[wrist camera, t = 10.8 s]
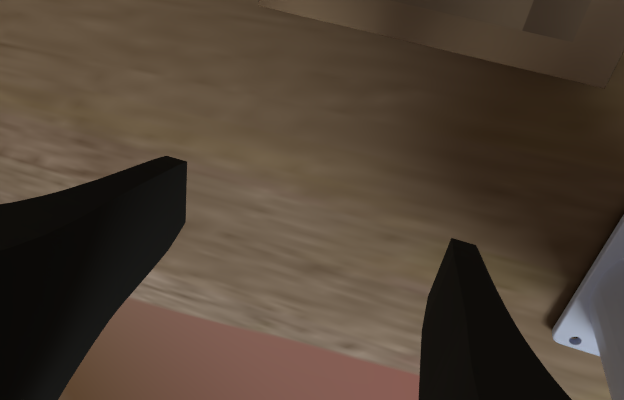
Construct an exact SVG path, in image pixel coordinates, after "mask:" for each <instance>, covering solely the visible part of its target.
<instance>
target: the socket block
mask: <svg viewBox="0 0 624 400" xmlns="http://www.w3.org/2000/svg"><path fill="white" fill-rule="evenodd" d="M259 6H261V7H266V8H270V9H274V10H278V11H282V12H286V13H291V14H295V15H299V16H303V17H307V18H312V19H316V20H320V21H324V22H328V23H332V24H337V25H341V26H345V27H349V28H353V29H358V30H362V31H366V32H370V33H374V34H378V35H383V36H387V37H391V38H395V39H399V40H404V41H408V42H412V43H416V44H420V45H425V46H429V47H433V48H437V49H441V50H445V51H450V52H454V53H458V54H462V55H466V56H471V57H475V58H479V59H483V60H487V61H491V62H496V63H500V64H504V65H508V66H512V67H517V68H521V69H525V70H529V71H533V72H538V73H542V74H546V75H550V76H554V77H558V78H563V79H567V80H571V81H575V82H579V83H584V84H588V85H592V86H596V87H600V88H604V89H605V87H606V85H607V83H608V81H609V79H610V77H611V75H612V73H613V71H614V69H615V67H616V65H617V63H618V61H619V59H620V57H621V55H622V53H623V51H624V0H259Z"/></svg>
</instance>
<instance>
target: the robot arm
mask: <svg viewBox="0 0 624 400" xmlns="http://www.w3.org/2000/svg"><path fill="white" fill-rule="evenodd" d="M186 181H187V162H186V161H183V160H179V159H176V158H172V157H169V156H164V157H160V158H157V159H154V160H151V161H148V162H145V163H142V164H140V165H137V166H134V167H131V168H129V169H126V170H123V171H120V172H117V173H115V174H112V175H109V176H106V177H104V178H101V179H98V180H95V181H91V182H88V183H85V184H82V185H79V186H76V187H72V188H69V189H66V190H63V191H59V192H56V193H52V194H48V195H44V196H40V197H35V198H31V199H27V200H22V201H17V202H12V203H6V204H0V400H58V399H59V397H60V395H61V393H62V392H63V390H64V389H65V387H66V385H67V384H68V382H69V380H70V379H71V377H72V376H73V374H74V373H75V371H76V369H77V368H78V366H79V365H80V363H81V362H82V360H83V359H84V357H85V355H86V354H87V352H88V351H89V349H90V348H91V346H92V345H93V343H94V342H95V340H96V339H97V337H98V336H99V334H100V333H101V331H102V330H103V329H104V327H105V326H106V324H107V323H108V321H109V320H110V319H111V317H112V316H113V315H114V314H115V312H116V311H117V310H118V309H119V307H120V306H121V305H122V304H123V303H124V301H125V300H126V299H127V298H128V297H129V296H130V294H131V293H132V292H133V291H134V290H135V289H136V288H137V286H138V285H139V284H140V283H141V282H142V281H143V279H144V278H145V277H146V276H147V275H148V274H149V272H150V271H151V270H152V269H153V268H154V266H155V265H156V264H157V263H158V262H159V261H160V259H161V258H162V257H163V256H164V255H165V253H166V252H167V251H168V249H169V248H170V246H171V245H172V243H173V242H174V240H175V239H176V237H177V235H178V234H179V232H180V231H181V229H182V227H183V226H184V224H185V220H186ZM552 336H553V340H554V341H555V342H557V343H559V344H562V345H565V346H568V347H572V348H575V349H578V350H581V351H585V352H588V353H591V354H594V355H598V356H600V357H601V361H602V364H603V368H604V372H605V376H606V379H607V383H608V387H609V391H610V394H611V398H612V400H624V215H623V216H622V218H621V220H620V221H619V223H618V224H617V226H616V228H615V229H614V231H613V232H612V234H611V236H610V237H609V239H608V240H607V242H606V244H605V245H604V247H603V249H602V250H601V252H600V253H599V255H598V257H597V258H596V260H595V261H594V263H593V265H592V266H591V268H590V269H589V271H588V273H587V274H586V276H585V277H584V279H583V281H582V282H581V284H580V286H579V287H578V289H577V290H576V292H575V294H574V295H573V297H572V298H571V300H570V302H569V303H568V305H567V306H566V308H565V310H564V311H563V313H562V315H561V316H560V318H559V319H558V321H557V323H556V324H555V326H554V327H553V329H552ZM571 337H578V338H576V339H571ZM419 400H571V398H570V397H569V396H568V395H567V394H566V393H565V391H564V390H563V389H562V388H561V387H560V386H559V384H558V383H557V382H556V381H555V380H554V378H553V377H552V376H551V375H550V373H549V372H548V371H547V370H546V368H545V367H544V366H543V364H542V363H541V361H540V360H539V359H538V357H537V356H536V355H535V353H534V352H533V351H532V349H531V348H530V346H529V345H528V343H527V342H526V340H525V339H524V337H523V336H522V334H521V333H520V331H519V329H518V328H517V326H516V325H515V323H514V321H513V320H512V318H511V316H510V314H509V312H508V311H507V309H506V307H505V305H504V303H503V301H502V299H501V297H500V295H499V293H498V292H497V290H496V287H495V285H494V283H493V281H492V279H491V277H490V275H489V273H488V271H487V268H486V266H485V264H484V262H483V259H482V257H481V255H480V252H479V250H478V248H477V246H476V245H474V244H470V243H467V242H463V241H460V240H456V239H453V238H451V241H450V243H449V246H448V248H447V251H446V253H445V256H444V258H443V261H442V263H441V266H440V268H439V271H438V273H437V276H436V278H435V281H434V283H433V286H432V288H431V291H430V293H429V296H428V300H427V305H426V310H425V316H424V322H423V328H422V339H421V359H420V382H419Z"/></svg>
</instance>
